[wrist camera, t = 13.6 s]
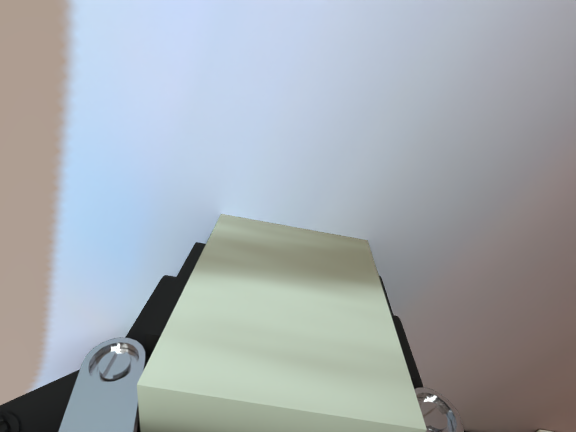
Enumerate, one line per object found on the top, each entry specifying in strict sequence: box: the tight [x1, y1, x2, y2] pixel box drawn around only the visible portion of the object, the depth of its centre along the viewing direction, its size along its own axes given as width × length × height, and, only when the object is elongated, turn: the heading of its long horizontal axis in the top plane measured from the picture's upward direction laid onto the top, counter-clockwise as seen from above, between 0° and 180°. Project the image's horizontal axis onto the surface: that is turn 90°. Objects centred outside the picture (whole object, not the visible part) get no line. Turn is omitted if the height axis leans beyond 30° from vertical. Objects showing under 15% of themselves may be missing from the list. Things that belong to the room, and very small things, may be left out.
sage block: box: [137, 214, 427, 432], centre depth 9 cm, size 5×5×6 cm
